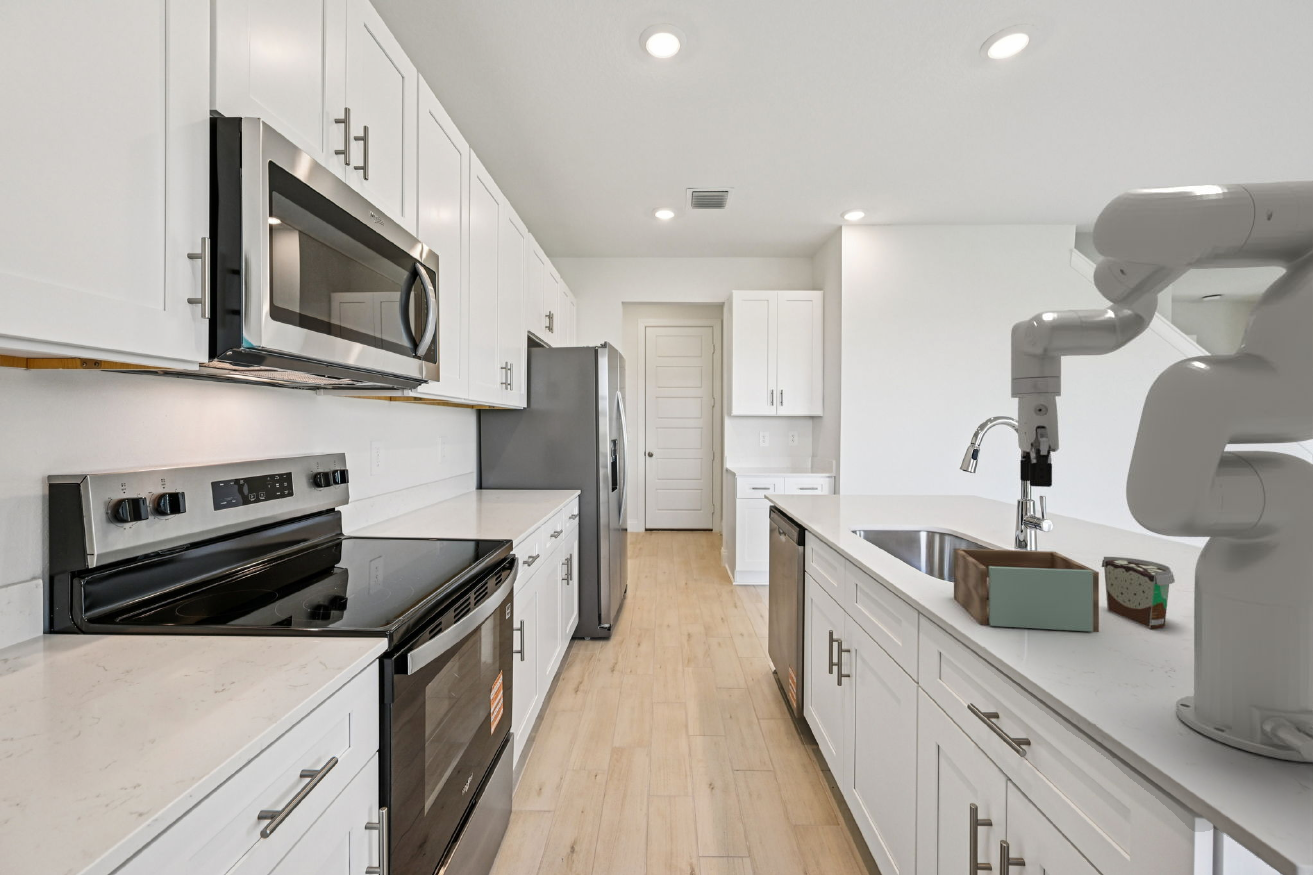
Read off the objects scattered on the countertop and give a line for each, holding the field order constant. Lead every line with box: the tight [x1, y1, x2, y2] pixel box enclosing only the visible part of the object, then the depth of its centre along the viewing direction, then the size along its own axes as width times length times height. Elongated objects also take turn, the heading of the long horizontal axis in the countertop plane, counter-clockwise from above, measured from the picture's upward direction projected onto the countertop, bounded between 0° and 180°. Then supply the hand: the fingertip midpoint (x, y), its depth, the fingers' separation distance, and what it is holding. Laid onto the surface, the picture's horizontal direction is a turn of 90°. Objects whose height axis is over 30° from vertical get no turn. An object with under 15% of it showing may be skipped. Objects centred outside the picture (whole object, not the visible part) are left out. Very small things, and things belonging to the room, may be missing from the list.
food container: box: [1101, 556, 1176, 630], centre depth 101 cm, size 12×6×10 cm, turn 179°
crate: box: [953, 547, 1100, 632], centre depth 105 cm, size 16×18×10 cm
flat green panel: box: [989, 566, 1094, 632], centre depth 97 cm, size 1×15×10 cm, turn 77°
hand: (1035, 483), depth 103 cm, fingers open, 9 cm apart
